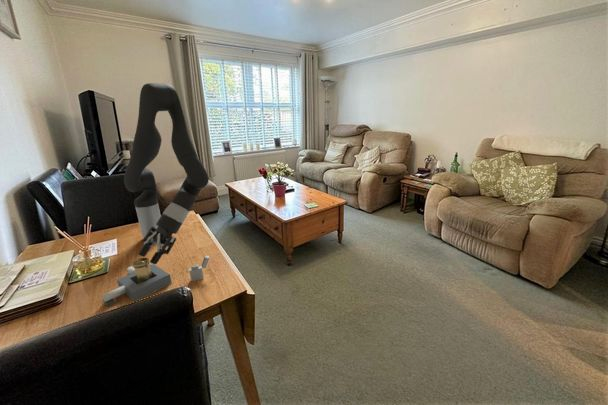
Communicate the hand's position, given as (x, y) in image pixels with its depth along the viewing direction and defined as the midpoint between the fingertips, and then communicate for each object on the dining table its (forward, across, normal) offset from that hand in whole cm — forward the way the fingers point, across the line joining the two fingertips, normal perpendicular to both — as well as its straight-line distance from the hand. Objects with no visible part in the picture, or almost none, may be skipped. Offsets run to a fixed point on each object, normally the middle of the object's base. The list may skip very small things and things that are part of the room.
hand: (146, 259), depth 92 cm
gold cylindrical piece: (+8, +1, +5) cm, 9 cm away
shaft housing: (+10, -2, +3) cm, 11 cm away
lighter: (-2, +12, +15) cm, 19 cm away
